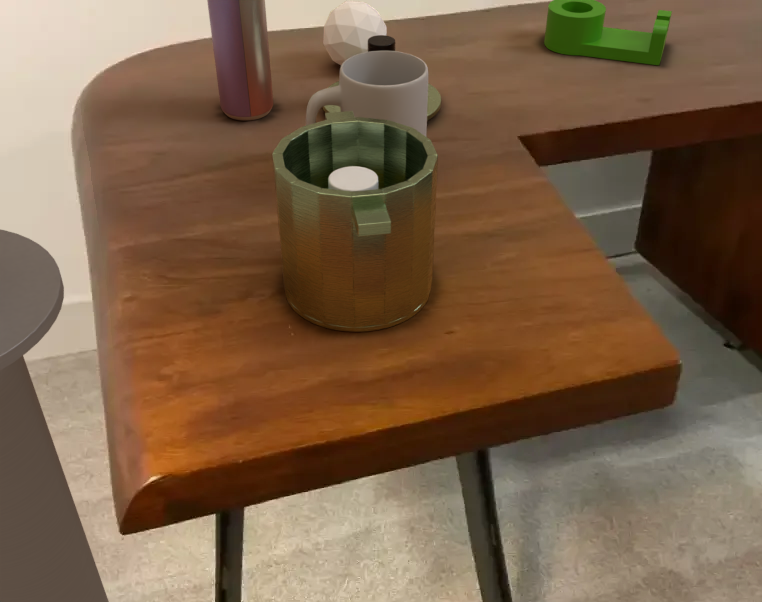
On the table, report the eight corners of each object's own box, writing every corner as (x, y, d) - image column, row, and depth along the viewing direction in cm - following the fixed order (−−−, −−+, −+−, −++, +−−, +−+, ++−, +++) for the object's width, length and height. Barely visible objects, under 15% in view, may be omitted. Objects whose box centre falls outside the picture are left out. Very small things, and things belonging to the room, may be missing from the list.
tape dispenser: (539, 51, 117) (543, 13, 113) (549, 30, 122) (554, -6, 118) (659, 66, 113) (667, 28, 110) (664, 44, 118) (672, 7, 115)
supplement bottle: (399, 280, 79) (401, 178, 72) (353, 307, 76) (351, 203, 70) (356, 255, 82) (354, 154, 75) (311, 279, 79) (304, 177, 72)
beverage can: (224, 124, 102) (206, -17, 91) (218, 101, 106) (201, -36, 96) (277, 119, 103) (266, -22, 92) (269, 96, 107) (258, -41, 97)
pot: (296, 361, 72) (285, 223, 63) (275, 237, 85) (263, 109, 76) (452, 343, 74) (462, 206, 65) (408, 225, 87) (411, 97, 78)
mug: (413, 149, 97) (415, 45, 90) (435, 188, 91) (440, 81, 84) (302, 162, 95) (295, 57, 88) (317, 203, 89) (311, 95, 82)
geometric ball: (371, 90, 115) (399, 50, 108) (311, 73, 111) (335, 31, 104) (372, 39, 117) (398, -3, 110) (313, 21, 114) (336, -23, 107)
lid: (330, 140, 99) (327, 70, 94) (315, 87, 109) (311, 21, 103) (453, 130, 101) (457, 60, 95) (426, 78, 111) (429, 13, 105)
